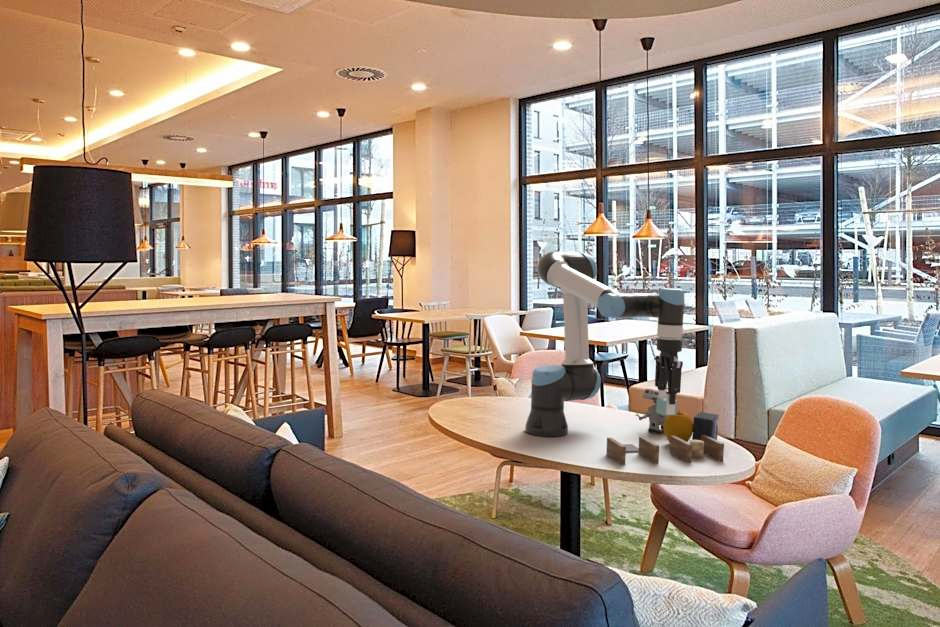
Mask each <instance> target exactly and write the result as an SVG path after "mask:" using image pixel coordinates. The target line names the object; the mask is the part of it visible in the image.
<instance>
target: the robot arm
mask: <svg viewBox="0 0 940 627" xmlns="http://www.w3.org/2000/svg"><path fill="white" fill-rule="evenodd" d="M537 272H538V276H539V277H540V279H541V280H542V281H543V282H544V283H545V284H547V285H548V286H551V287H553V288H558V290H559V291H560V292H561V294H562V295H563V298H562V299H563V300H562V301H563V302H562V303H563V318H564V319H563V324H564V327H563V328H564V354H565V355H564V356H565V359H564V360H563V361H561V365H559V364H552V365H550V364H549V365H541V366H539V367H536V368H534V369H533V372H532V375H531V381H530V382H531V383H530V384H531V398H530V400H531V401H530V412H529V414H528V416H527V420H526V423H525V433H527V434H529V435H533V436H538V437H549V438H551V437H552V438H553V437H556V438H557V437H562V436H566V435H568V434H569V424H568V422H567V418H566V414H565V411H564V410H565V409H564V408H565V402H570V401H578V400H579V401H584V400H588V399H592V398H593V397H595V396H596V395H597V394H598V392H599V391H600V388H601V383H602V380H601V379H602V378H601V374H600V373H599V370H598V369H597V368H595V367H594V361H592V360H591V359H590V352H589V351H590V350H589V349H590V347H589V345H590V344H589V321H588V320H589V319H588V304H590V305H592V306H594V307H595V308H597V310H598V312H599V314H600V315H601V316H602V317H604V318H609V319H615V318H616V319H617V318H656V319H657V332H656V334H657V335H656V336H657V337H658V338H657V339H656V350H657V351H659V352H660V353H659V355H655V358H654V359H655V372H654V374H655V376H654V377H655V379H654V386H655V387H656V388H657V390H658V391H659V393H658V398H666V415H675V400H676V398H677V397H676V396H677V394H680V393H681V386H682V384H681V383H682V368H683V365H684V362H683V361H682V360H679V356H678V354H679V352H680V353H681V352H682V349H683V340H682V338H683V331H684V327H683V326H684V311H685V292H684V290H683V289H682V288H660V289H659V293H658V294H657V293H649V292H648V293H647V292H635V293H634V292H633V293H632V292H631V293H630V292H619V291H617V290H615V289H613V288H611V287H609V286H607V285H606V284H603V283H601V282H600V281H597V280H596V277H597V275H598V267H597V263H596V261H595V259H594V258H593V257H592V256H591V255H590V254H588V253H586V252H581V251H555V250H554V251H550V252H547V253H546V254H544V255H543V256H542V257H541V259H540V260H539V262H538V265H537Z"/></svg>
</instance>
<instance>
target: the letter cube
mask: <svg viewBox="0 0 940 627" xmlns="http://www.w3.org/2000/svg"><path fill="white" fill-rule="evenodd" d="M677 405H678V400H676V399H675V415H676V413H677V412H678V411H677V410H678V408H677V407H678V406H677ZM656 413H659V414H661V415H666V398H657V406H656Z"/></svg>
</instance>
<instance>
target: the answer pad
mask: <svg viewBox="0 0 940 627" xmlns="http://www.w3.org/2000/svg"><path fill="white" fill-rule="evenodd" d="M621 444H622V443H621ZM622 445H624V446H626V454H627V453H631V454H632V453H638V451H639V447H638V446H636V445H634V444H633V443H629V444H628V443H627V444H625V443H623V444H622Z"/></svg>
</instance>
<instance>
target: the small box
mask: <svg viewBox="0 0 940 627" xmlns="http://www.w3.org/2000/svg"><path fill="white" fill-rule="evenodd" d="M692 422H693V433H692V436H691V440H701V435H707V436H709V437H711V438H713V439H715V440H717V441H718V431H719V430H718V429H719V414H716V413H710V412H703V411H700V412H699V413H697V414H696V415H695V416H693V419H692Z"/></svg>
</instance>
